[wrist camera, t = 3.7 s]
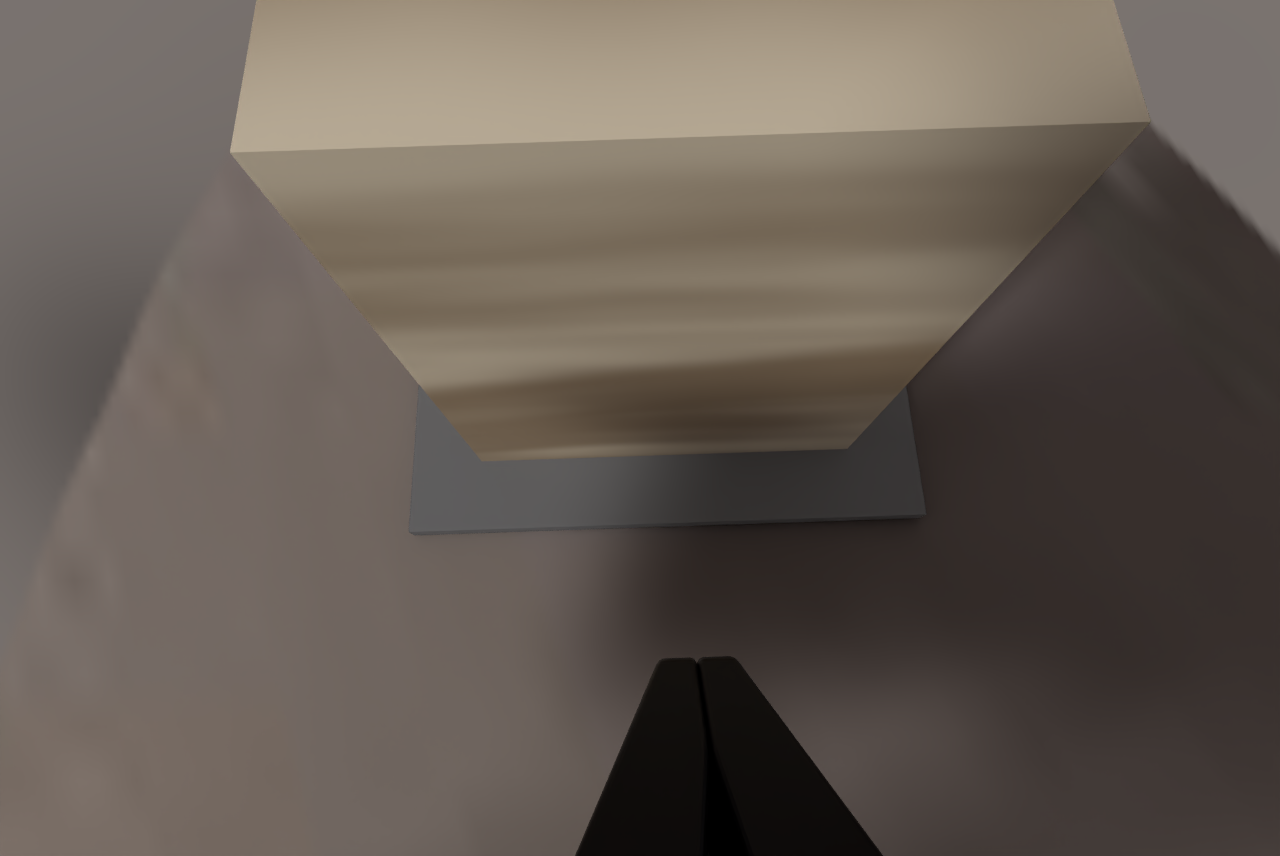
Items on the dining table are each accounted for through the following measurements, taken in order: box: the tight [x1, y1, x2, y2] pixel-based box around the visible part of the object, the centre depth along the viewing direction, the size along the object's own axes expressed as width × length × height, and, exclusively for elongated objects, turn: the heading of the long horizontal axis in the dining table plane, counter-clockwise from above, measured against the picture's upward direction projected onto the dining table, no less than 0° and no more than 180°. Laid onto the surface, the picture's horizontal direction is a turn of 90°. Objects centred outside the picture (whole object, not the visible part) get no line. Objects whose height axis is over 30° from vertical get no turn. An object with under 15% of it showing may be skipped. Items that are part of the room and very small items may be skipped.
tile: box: [230, 0, 1151, 461], centre depth 12 cm, size 3×8×10 cm, turn 92°
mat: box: [409, 385, 926, 535], centre depth 18 cm, size 16×11×1 cm
